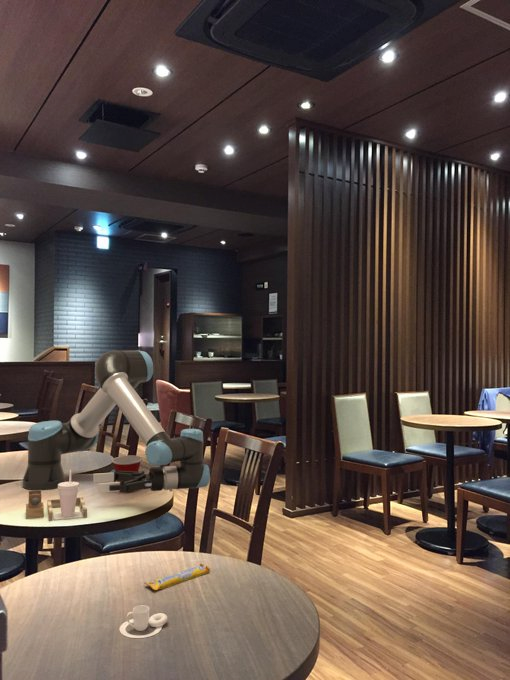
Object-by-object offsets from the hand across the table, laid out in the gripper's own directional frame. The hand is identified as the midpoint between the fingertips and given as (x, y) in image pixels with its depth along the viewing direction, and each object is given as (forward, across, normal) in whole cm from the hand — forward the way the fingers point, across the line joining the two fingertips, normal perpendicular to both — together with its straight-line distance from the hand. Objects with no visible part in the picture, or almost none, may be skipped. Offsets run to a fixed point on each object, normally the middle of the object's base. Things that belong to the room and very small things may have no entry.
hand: (95, 483), depth 181 cm
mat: (+8, 0, -10) cm, 13 cm away
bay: (+8, +4, -10) cm, 14 cm away
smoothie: (+8, 0, -10) cm, 13 cm away
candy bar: (-13, -57, -11) cm, 60 cm away
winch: (+18, +4, -10) cm, 21 cm away
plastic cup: (-14, +26, -10) cm, 31 cm away
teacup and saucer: (-3, -79, -11) cm, 80 cm away
